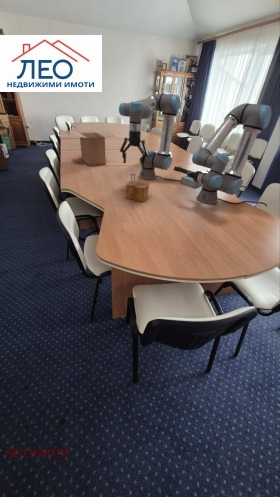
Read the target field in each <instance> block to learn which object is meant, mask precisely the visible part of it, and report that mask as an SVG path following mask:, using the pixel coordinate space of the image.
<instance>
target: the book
mask: <svg viewBox="0 0 280 497" xmlns="http://www.w3.org/2000/svg"><path fill="white" fill-rule="evenodd" d="M180 180H181V181H179V183H180V184H182V185H185V186H187V187H190V188H193V189H195V188H198V187H200V186H202V185H203V184H202V185H201V184H200V183H197V182H195V181H194V180H193V178H190V177H187V175H183V176H181V177H180Z"/></svg>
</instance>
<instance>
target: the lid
mask: <svg viewBox="0 0 280 497" xmlns="http://www.w3.org/2000/svg"><path fill="white" fill-rule="evenodd" d="M136 174H137V171H133V172H131V173H130V181H129V182H127V183H126V184H125V187H127V186H129V187H134V188H139V189H145V188H146V187H147V186H148V185H149V186H150V184H149V183H145V182H139V181H136Z"/></svg>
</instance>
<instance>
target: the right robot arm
mask: <svg viewBox="0 0 280 497" xmlns="http://www.w3.org/2000/svg"><path fill="white" fill-rule="evenodd" d="M271 117H272V108H271V106H270V105H266V104H260V103H259V104H257V103H249V102H245V103H242V104H239V105H237V106H235V107H233V109H231V110H230V111H229V112H228V113H227V114H226V115H225V117H224V118H223V122H222V123H221V124H220V126H219V127H218V128H217V129H216V130H215V132H214V133H213V135H212V136H211V138H209V139H208V141H207V142H206V144H205V145H204V147H203V148H202V149H201V150H200V151H195V152H194V153H193V155H192V156H191V161H192V164H194V165H197V166H200V167H203V168H206V169H207V170H206V171H203V170H196V171H192V170H189V169H186V168H183V167H182V166H177V165H176V166H174V168H173V171H174V172H178V173H182V174H185V175H186V176H187V177H190V178H193V180H194V181H195V182H197V183H200V184H201V185H200V186H201V189H200V191H199V192H198V194H197V197H196V199H197V201H199V202H200V203H202V204H207V205H214V204H217V203H218V201H222V202H225V203H228V204H231V205H240V204H242V203H251V204H262V205H264V206H265V207H268V204H267V203H265V202H263V201H252V200H242V201H240V202H231V201H228V200H225V199H221V198H220V197H219V198H218V191H219V192H221V193H224V194H226V195H230V196H233V195H236V194H237V193H238V192H239V191H240V189H241V188H242V187H241V186H243V183H244V180H243V175H242V172H243V171H244V170H243V169H244V167H245V166H246V163H247V160H248V157H249V156H250V154H251V151H252V149H253V147H254V144H255V141H256V139H257V136H258V135H259V134H260V133H262V131H263V130H264V129H266V128H267V127H268V126H269V124H270V121H271ZM239 125H240V126H242V131H243V132H242V134H241V137H240V139H239V142H238V145H237V147H236V150H235V153H234V155H233V157H232V159H231V162H230V165H229V167H228V169H227V170H226V171H225V172H224V170H225V168H226V166H227V164H228V162H229V159H230V157H229V156H228V155H227V154H225V153H222V152H218V153H217V154H216V155H214V154H215V153H216V151H217V150H218V149H219V148H220V146H221V145H222V144H223V143H224V141H225V140H226V138H227V137H228V136H229V135H230V134H231V132H232V130H234V129H236V128H237V127H238V126H239ZM202 184H203V185H202Z"/></svg>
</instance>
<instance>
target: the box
mask: <svg viewBox="0 0 280 497" xmlns="http://www.w3.org/2000/svg"><path fill="white" fill-rule="evenodd" d="M70 133H71V134H72V135H74V136H75V137H77V138H79V144H80V153H81V160H83V162H85V163H86V165H87V166H95V165H97V166H98V165H106V163H107V162H106V158H107V157H106V138H113V137H114V136H113V135H111V134H109V133H108V132H105V131H98V132H96V131H95V130H92V129H91V130H77V132H76V131H70Z"/></svg>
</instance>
